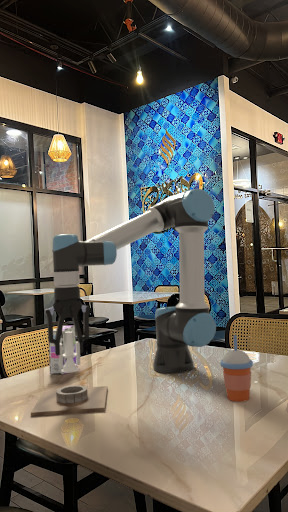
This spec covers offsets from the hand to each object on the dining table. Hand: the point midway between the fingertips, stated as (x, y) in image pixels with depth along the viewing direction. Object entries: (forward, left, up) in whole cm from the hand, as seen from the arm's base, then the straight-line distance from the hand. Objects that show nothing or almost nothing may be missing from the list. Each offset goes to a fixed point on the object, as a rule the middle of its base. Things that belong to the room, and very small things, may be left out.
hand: (69, 364), depth 123 cm
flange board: (0, 0, -11) cm, 11 cm away
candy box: (+8, -39, -11) cm, 41 cm away
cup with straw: (-48, +7, -11) cm, 50 cm away
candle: (0, 0, -2) cm, 2 cm away
